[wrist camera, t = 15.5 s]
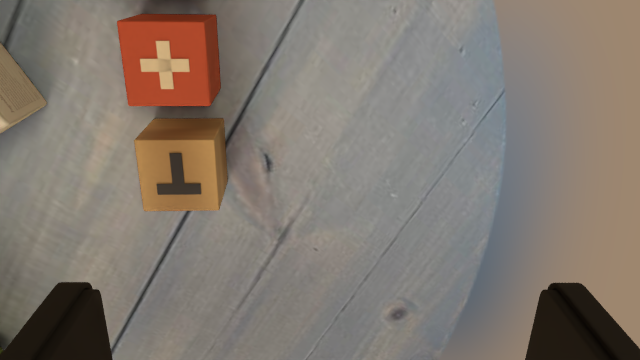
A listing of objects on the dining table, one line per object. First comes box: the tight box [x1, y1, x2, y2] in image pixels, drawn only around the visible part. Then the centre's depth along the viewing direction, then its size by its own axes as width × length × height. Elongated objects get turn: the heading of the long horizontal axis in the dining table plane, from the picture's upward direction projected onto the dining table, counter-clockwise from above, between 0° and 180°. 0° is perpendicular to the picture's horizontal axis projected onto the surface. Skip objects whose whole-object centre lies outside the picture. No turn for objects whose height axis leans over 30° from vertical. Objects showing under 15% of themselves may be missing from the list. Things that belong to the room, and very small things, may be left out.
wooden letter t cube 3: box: [134, 118, 228, 211], centre depth 32 cm, size 5×5×5 cm
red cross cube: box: [117, 14, 221, 106], centre depth 29 cm, size 5×5×5 cm
